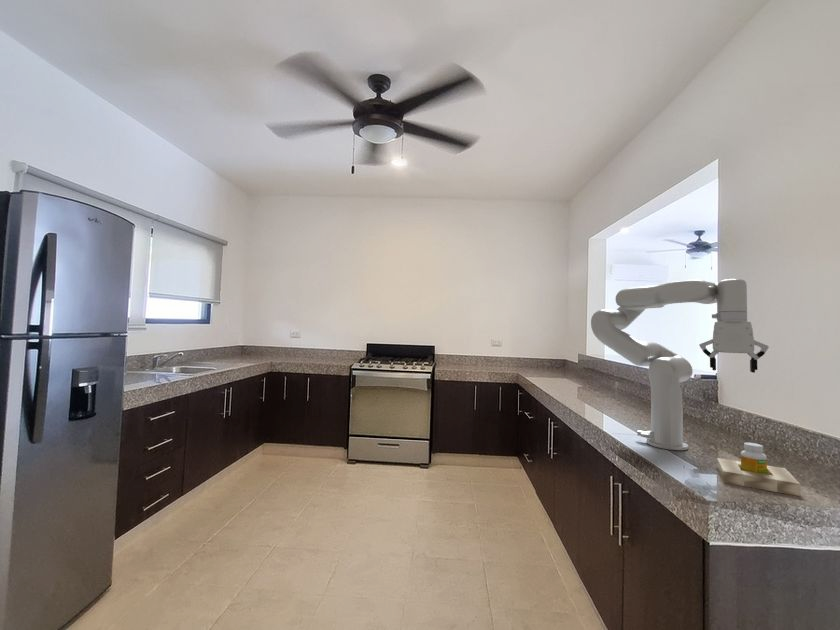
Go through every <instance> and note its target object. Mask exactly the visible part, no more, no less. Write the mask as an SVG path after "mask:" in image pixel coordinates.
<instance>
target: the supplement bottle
mask: <svg viewBox="0 0 840 630" xmlns="http://www.w3.org/2000/svg"><path fill="white" fill-rule="evenodd" d="M743 449H744V450H742V451H741V452H740V461H741V471H748V472H754V473H760V474H766V475H767V466H768V458H767V455H766V454H765V453H763V452H764V446H763V445H762V444H761V443H760V444H759V443H755V442H744V443H743Z"/></svg>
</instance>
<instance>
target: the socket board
mask: <svg viewBox="0 0 840 630" xmlns="http://www.w3.org/2000/svg"><path fill="white" fill-rule="evenodd" d="M716 465H717V466H716V467H717V471H718V473H719V475H720V478H721V480H722V482H723V483H724V484H729V485H735V486H741V487H745V486H746V488H751V487H752V488H753V489H758V490H762V489H763V491H770V492H775V493H782V494H787V495H792V496H797V497H801V483H800V482H799V481H798V480H797V479H796V478H795V477H794V475H792V473H790V471H788V470H787V468H785V467H779V466H774V465H773V466H772V465H767V475H766V474H760V473H754V472H748V471H741V460H740V461H739V460H735V459H733V460H732V459H727V458H719V457H717V458H716Z"/></svg>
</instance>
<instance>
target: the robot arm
mask: <svg viewBox="0 0 840 630" xmlns="http://www.w3.org/2000/svg"><path fill="white" fill-rule="evenodd" d="M747 288H748V287H747V281H745V280H744V279H741V278H729V279H723V280H719V281H718V282H712V281H706V280H702V279H701V280H700V279H688V280H679V281H672V282H665V283H662V284H661V283H660V284H656V285H653V284H652V285H646V286H638V287H637V286H635V287H628V288H624V289H621V290H620V291H618V292H617V294H616V295H615V303H616V305H617V307H618V308H617V309H609V308H608V309H607V308H605V309H599V310H596V311H595V312H594V313H593V315H592V316H591V319H590V326H591V327H590V328H591V330H592V334H594V336H595V337H596V339H597V340H598V341H599V342H600V343H601V344H603V345H605V346H606V347H608V348H610V349H611V350H612V351H614V352H615V353H617V354H618V355H619V356H620V357H623V358H624V359H626V360H627V361H629V362H630V363H632V364H633V365H635V366H637V367H648V378H649V383H650V402H651V403H650V407H651V408H650V413H651V414H650V415H651V416H650V420H651V422H650V423H651V425H650V428H651V429H650V430H646V431H643V430H640V429H639V430H637V432H636V433H637V436H639V437H641V438H647V439H646V444H647V445H649V446H651V447H655V448H658V449H663V450H669V451H686V450H688V449H689V445H688V444H687V443H685V442H684V431H683V430H684V427H683V423H684V420H683V417H684V416H683V415H684V413H683V391H682V387H681V384H680V383H684V382H686V381H688V380H689V379H690V378H691V377H692V375H693V366H692V365H691V363H690V362H689V360H687V359H686V358H684V357H683V356H681V355H679V354H677V353H675V352H674V351H673V350H670V349H669V348H666V347H665V346H663V345H661V344H660V343H657V342H653V341H642V340H640V339H637V338H636V337H634V336H632V335H631V334H629V333H627V332H625V331H623V330H624V329H627V328H628V327H629V326H630V325H631V324H632V323H633V322H634V321H635V320H637V318H638V317H639V316H641V315H642V313H643V312H645V310H646V309H660V308H663V307H665V306H667V305H672V304H684V303H687V304H688V303H697V304H702V305H712V304H716V307H717V308H716V311H717V312H716V313H714V314H711V318H712V319H715V320H717V321H715V322H714V325H713V332H712V339H709V340H706V341H704V342H702V343H699V348H700V349H701V350H702V352H703V353H704V354H705V355H706V356H707V357H708V358H709V367H710V368H712V371H716V370H717V358H716V356H717V355H718V354H719V353H722V354H723V353H728V354H731V353H732V354H746V355H748V356H749V357H750V359H749V370H750V372H751V373H756V371H758V360H759V359H761V357H763V356H765V354H766V353H767V351H768V349H769V345H767V344H764V343H762V342H760V341H757V340H755V339H754V331H753V325H752V322H751V321H748V294H747V292H748V291H747V290H748V289H747ZM711 344H712V349H713V350H712V351H711V352H710V351H709V350H708V349H707V346H710V345H711ZM755 346H756V347H758V348H760V350H759V351H758V352H756V353H755V352H754V351H755Z"/></svg>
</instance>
